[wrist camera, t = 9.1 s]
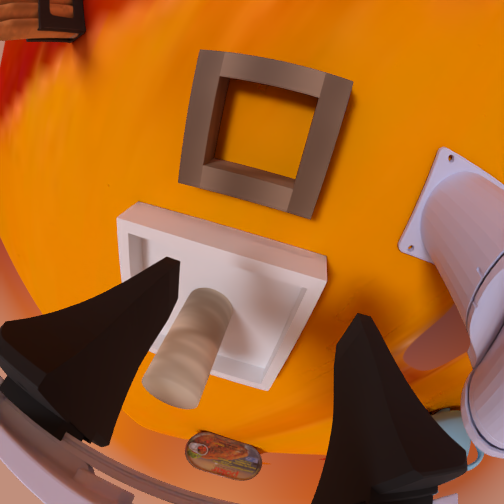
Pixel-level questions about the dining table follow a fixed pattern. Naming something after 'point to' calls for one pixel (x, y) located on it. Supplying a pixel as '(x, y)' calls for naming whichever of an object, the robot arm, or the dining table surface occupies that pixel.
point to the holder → (244, 177)
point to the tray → (230, 284)
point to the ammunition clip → (42, 20)
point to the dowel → (189, 349)
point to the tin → (223, 456)
